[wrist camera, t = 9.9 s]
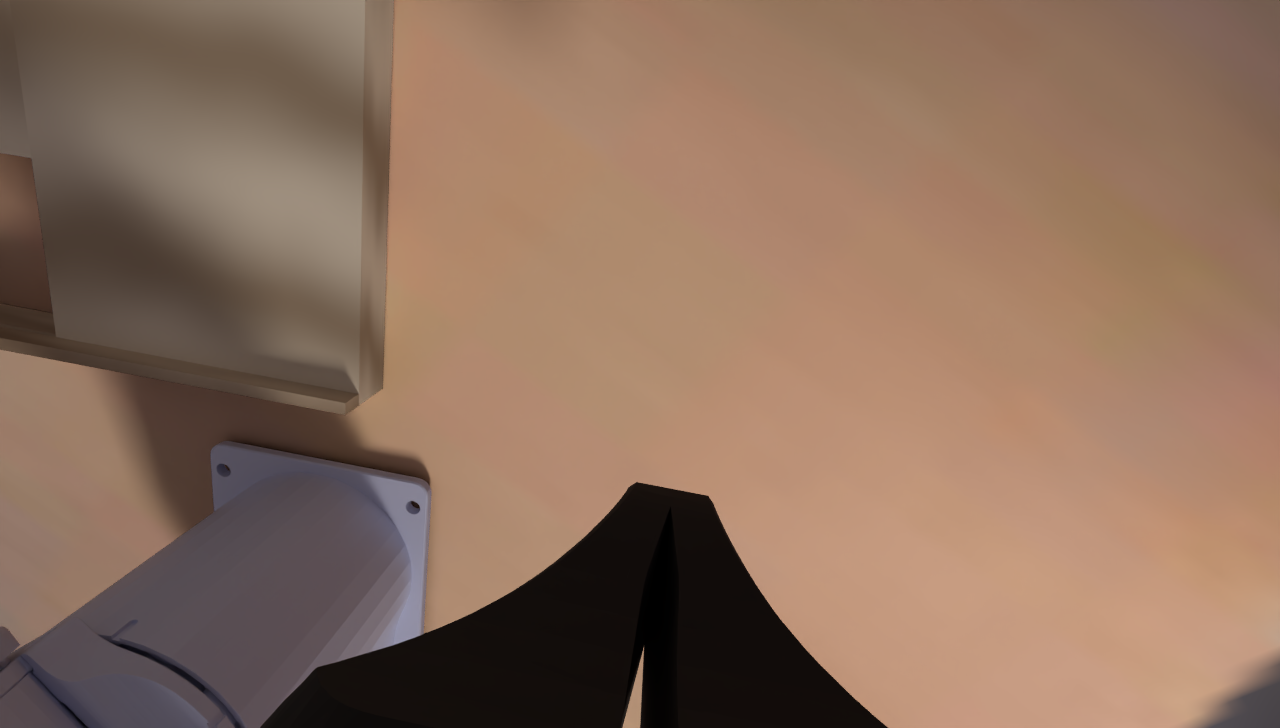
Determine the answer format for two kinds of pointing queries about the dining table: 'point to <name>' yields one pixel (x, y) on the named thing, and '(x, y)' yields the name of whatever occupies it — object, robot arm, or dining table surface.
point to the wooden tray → (207, 189)
